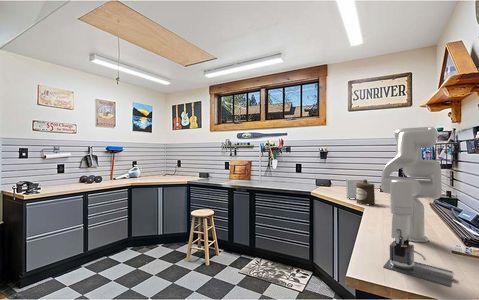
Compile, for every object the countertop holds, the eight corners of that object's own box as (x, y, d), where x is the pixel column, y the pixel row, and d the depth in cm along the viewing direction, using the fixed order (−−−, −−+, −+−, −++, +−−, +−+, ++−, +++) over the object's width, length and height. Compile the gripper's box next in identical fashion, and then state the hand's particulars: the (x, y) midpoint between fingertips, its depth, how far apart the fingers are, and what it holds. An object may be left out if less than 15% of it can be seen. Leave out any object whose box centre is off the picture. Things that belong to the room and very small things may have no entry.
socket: (393, 254, 102) (393, 240, 102) (413, 259, 97) (413, 244, 97) (389, 259, 97) (389, 245, 97) (410, 265, 92) (410, 249, 92)
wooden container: (353, 202, 224) (352, 179, 225) (366, 201, 227) (366, 178, 228) (363, 205, 210) (363, 180, 210) (378, 205, 213) (378, 180, 213)
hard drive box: (362, 198, 245) (361, 178, 246) (364, 199, 238) (364, 179, 238) (346, 197, 247) (346, 178, 248) (348, 199, 240) (348, 179, 240)
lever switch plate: (391, 256, 105) (391, 243, 105) (454, 272, 91) (453, 257, 91) (383, 267, 95) (383, 252, 95) (452, 287, 81) (451, 269, 81)
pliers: (402, 256, 104) (386, 240, 124) (402, 258, 104) (386, 242, 124) (428, 259, 102) (407, 242, 121) (428, 261, 102) (407, 244, 121)
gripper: (395, 205, 106) (395, 243, 106) (385, 212, 94) (386, 256, 94) (416, 207, 101) (416, 248, 101) (408, 216, 88) (409, 262, 88)
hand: (401, 252), depth 97 cm, fingers open, 9 cm apart
